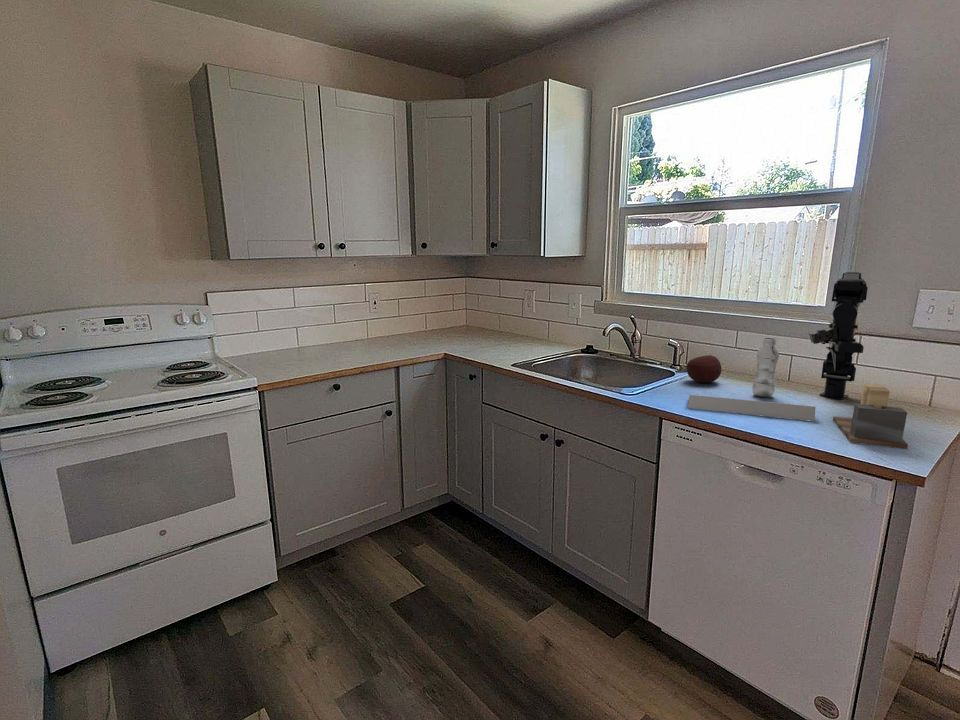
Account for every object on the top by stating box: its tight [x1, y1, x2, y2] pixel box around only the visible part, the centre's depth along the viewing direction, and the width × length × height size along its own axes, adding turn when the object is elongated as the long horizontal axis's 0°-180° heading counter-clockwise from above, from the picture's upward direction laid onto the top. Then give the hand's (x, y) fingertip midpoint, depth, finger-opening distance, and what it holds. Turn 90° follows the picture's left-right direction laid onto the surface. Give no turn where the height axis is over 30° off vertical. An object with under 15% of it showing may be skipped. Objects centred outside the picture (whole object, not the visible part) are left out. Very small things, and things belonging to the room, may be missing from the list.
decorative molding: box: [687, 394, 816, 422], centre depth 158 cm, size 34×5×10 cm
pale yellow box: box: [860, 383, 890, 408], centre depth 134 cm, size 8×4×12 cm, turn 157°
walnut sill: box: [832, 403, 909, 450], centre depth 136 cm, size 18×12×9 cm, turn 157°
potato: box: [686, 354, 722, 384], centre depth 188 cm, size 11×13×10 cm
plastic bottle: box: [751, 337, 780, 398], centre depth 169 cm, size 6×7×20 cm
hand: (836, 371), depth 155 cm, fingers closed
